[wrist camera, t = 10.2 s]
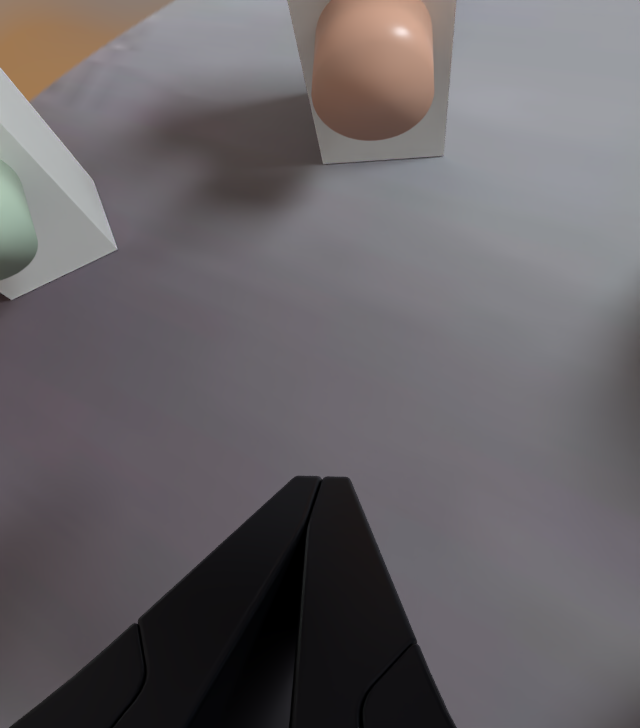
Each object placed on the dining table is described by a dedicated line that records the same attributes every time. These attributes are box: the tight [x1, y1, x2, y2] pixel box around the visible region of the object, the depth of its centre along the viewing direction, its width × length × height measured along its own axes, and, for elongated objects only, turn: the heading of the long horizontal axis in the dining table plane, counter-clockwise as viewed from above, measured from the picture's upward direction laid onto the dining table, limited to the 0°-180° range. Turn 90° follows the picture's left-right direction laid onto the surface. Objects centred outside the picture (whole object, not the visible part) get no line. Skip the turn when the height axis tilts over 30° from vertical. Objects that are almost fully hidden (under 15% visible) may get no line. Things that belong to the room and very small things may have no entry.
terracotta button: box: [311, 0, 434, 141], centre depth 21 cm, size 6×4×4 cm
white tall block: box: [287, 0, 456, 164], centre depth 23 cm, size 5×6×10 cm
